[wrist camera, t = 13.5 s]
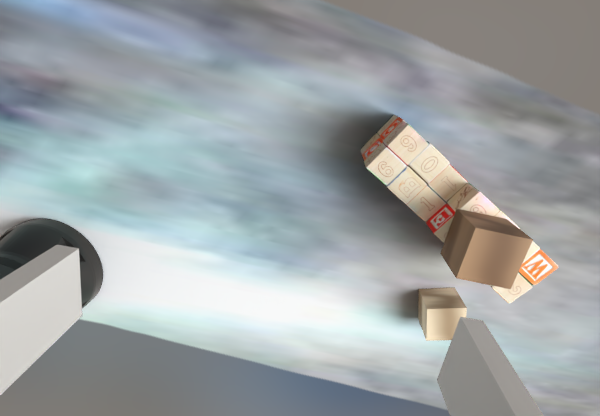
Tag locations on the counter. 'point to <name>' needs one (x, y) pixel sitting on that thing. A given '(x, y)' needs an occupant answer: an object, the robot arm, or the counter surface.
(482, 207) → the stack of blocks
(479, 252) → the walnut cube
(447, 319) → the maple cube
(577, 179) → the counter surface
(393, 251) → the counter surface
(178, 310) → the counter surface
